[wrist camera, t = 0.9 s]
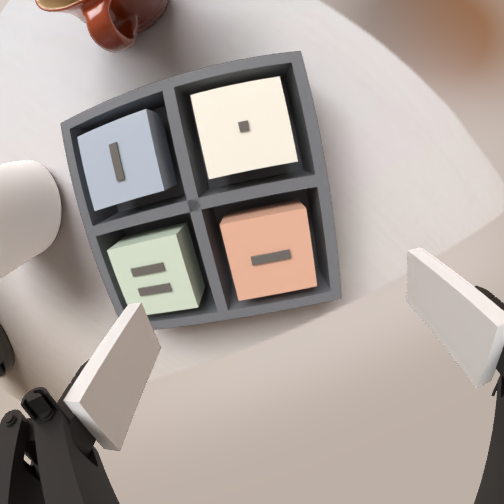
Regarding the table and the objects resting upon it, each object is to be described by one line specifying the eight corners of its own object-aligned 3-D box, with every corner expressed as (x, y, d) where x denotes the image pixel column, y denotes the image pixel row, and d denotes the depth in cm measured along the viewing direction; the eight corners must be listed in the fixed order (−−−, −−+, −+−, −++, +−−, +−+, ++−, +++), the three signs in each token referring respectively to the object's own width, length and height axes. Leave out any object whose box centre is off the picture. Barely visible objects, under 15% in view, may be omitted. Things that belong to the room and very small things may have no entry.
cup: (81, 194, 24) (11, 221, 14) (47, 266, 26) (-9, 309, 17) (26, 141, 22) (-43, 149, 12) (-1, 214, 24) (-59, 240, 15)
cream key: (215, 174, 21) (208, 179, 17) (200, 103, 19) (189, 94, 16) (290, 159, 20) (298, 161, 17) (275, 87, 19) (279, 75, 15)
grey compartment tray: (143, 303, 27) (125, 332, 23) (92, 125, 22) (60, 123, 17) (326, 271, 26) (341, 298, 21) (290, 70, 20) (300, 50, 15)
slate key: (114, 202, 21) (93, 211, 18) (99, 137, 20) (76, 137, 16) (177, 184, 21) (163, 191, 18) (161, 114, 19) (145, 108, 16)
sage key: (145, 296, 24) (131, 317, 21) (124, 236, 22) (106, 251, 19) (205, 286, 24) (198, 308, 20) (186, 221, 22) (175, 235, 19)
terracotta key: (240, 280, 24) (238, 301, 20) (224, 213, 22) (219, 225, 18) (308, 267, 23) (317, 287, 20) (298, 199, 21) (306, 208, 18)
